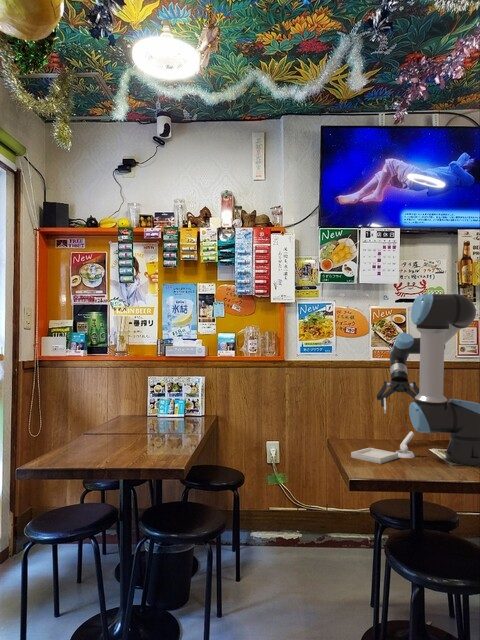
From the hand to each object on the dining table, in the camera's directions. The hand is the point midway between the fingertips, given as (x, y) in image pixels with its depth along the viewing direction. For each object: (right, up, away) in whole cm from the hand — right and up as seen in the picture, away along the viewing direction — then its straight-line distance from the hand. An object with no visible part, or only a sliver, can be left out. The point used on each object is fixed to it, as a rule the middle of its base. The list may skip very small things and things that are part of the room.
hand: (401, 412), depth 190 cm
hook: (-3, -15, -12) cm, 20 cm away
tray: (-16, -15, -15) cm, 27 cm away
